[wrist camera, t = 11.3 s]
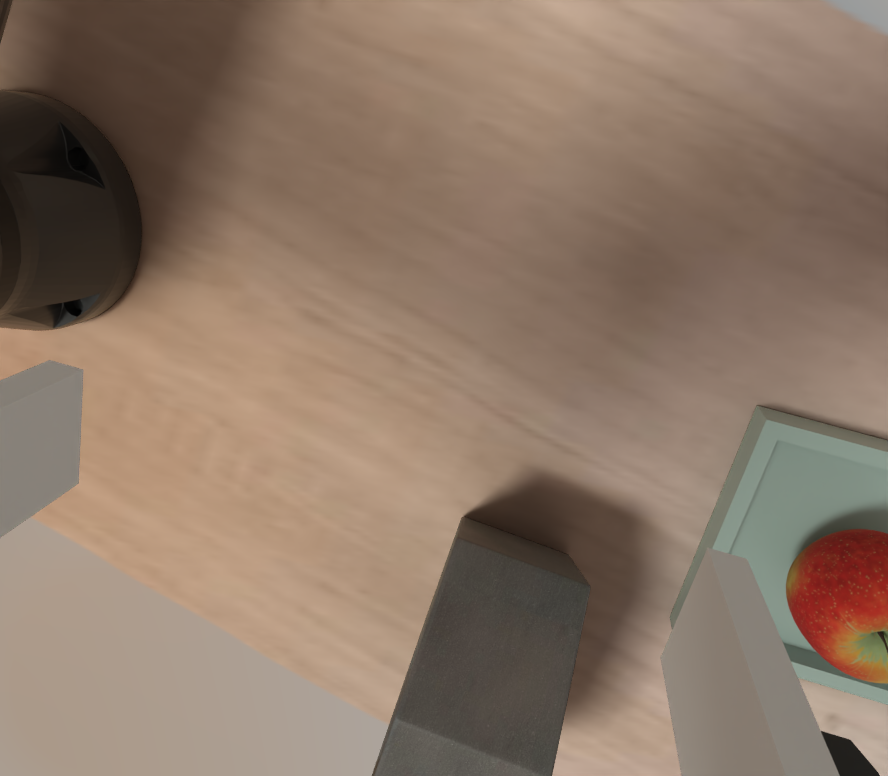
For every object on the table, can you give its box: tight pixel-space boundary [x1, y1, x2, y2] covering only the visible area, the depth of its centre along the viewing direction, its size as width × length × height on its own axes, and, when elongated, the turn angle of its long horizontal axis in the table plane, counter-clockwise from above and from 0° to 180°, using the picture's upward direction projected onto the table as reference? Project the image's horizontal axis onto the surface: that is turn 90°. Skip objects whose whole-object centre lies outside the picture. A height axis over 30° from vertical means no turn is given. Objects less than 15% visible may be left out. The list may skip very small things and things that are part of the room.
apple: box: [786, 529, 888, 684], centre depth 39 cm, size 8×8×10 cm
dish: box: [670, 406, 888, 705], centre depth 43 cm, size 16×16×2 cm
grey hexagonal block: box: [372, 517, 590, 776], centre depth 42 cm, size 17×8×21 cm
